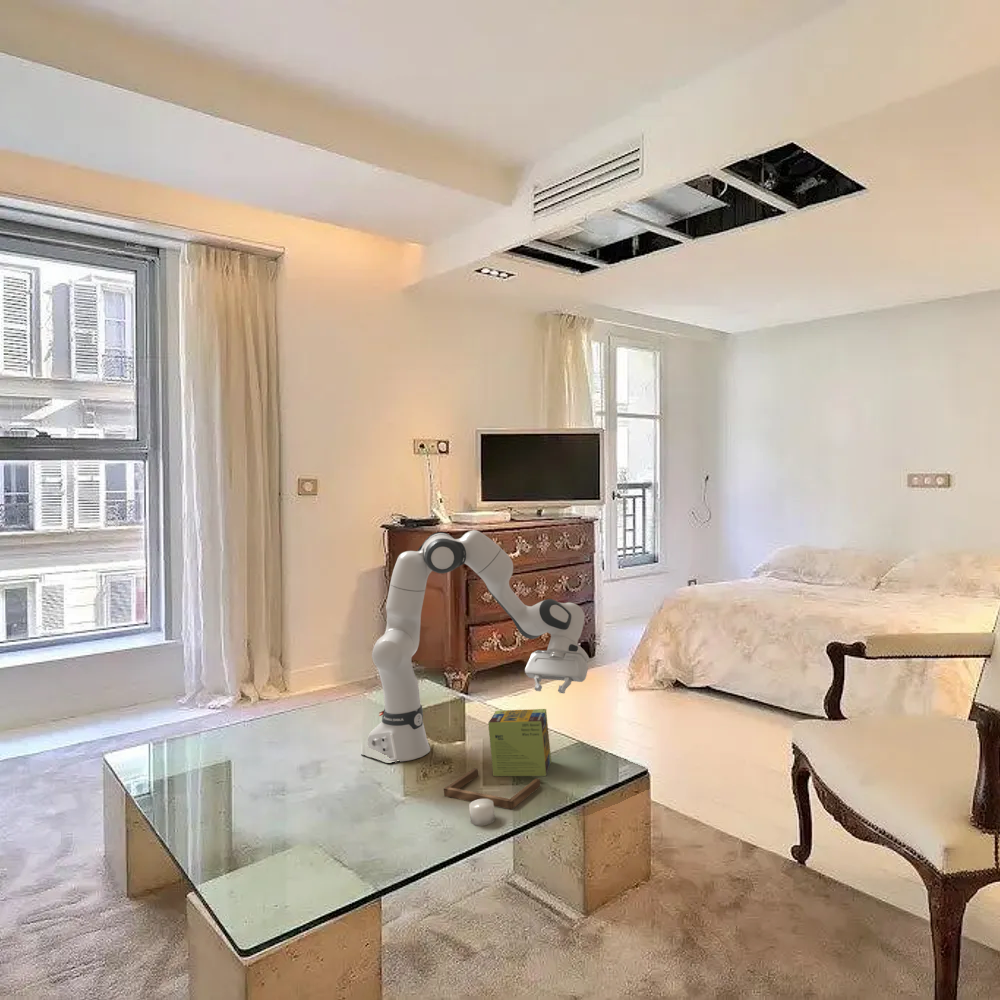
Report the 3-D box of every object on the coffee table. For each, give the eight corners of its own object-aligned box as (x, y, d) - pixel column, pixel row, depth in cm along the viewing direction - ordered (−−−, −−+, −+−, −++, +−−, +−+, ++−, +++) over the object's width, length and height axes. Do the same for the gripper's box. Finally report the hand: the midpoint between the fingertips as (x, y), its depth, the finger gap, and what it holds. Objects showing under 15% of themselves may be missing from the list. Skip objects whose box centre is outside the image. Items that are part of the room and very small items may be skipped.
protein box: (547, 776, 202) (541, 720, 202) (492, 777, 205) (487, 722, 205) (552, 761, 212) (547, 708, 212) (500, 762, 216) (495, 709, 215)
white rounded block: (465, 823, 179) (464, 807, 179) (479, 812, 184) (478, 797, 184) (486, 827, 176) (484, 811, 176) (499, 816, 181) (498, 801, 181)
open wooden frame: (444, 795, 196) (443, 788, 196) (475, 775, 208) (474, 768, 208) (512, 809, 184) (511, 801, 184) (540, 786, 196) (539, 779, 196)
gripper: (528, 644, 235) (515, 683, 227) (585, 647, 224) (574, 688, 216) (537, 655, 239) (524, 693, 231) (593, 658, 228) (582, 699, 220)
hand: (549, 691), depth 223 cm, fingers open, 7 cm apart
